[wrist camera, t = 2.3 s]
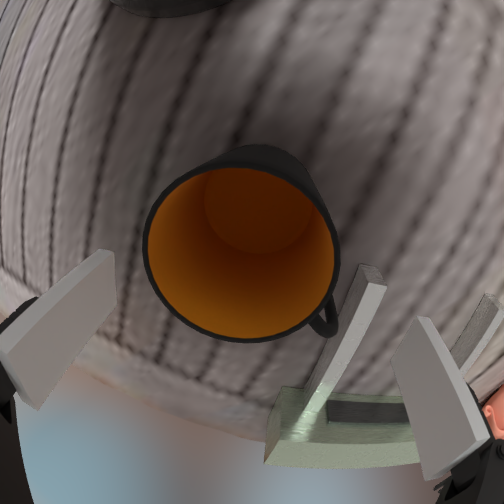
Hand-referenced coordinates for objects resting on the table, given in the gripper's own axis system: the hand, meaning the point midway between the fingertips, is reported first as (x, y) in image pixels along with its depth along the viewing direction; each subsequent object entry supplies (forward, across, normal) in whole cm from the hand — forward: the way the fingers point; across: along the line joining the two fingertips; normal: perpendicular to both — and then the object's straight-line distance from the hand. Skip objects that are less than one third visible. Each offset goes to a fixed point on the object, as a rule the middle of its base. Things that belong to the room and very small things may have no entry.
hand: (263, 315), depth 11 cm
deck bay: (+11, +16, -13) cm, 24 cm away
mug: (+11, 0, 0) cm, 11 cm away
